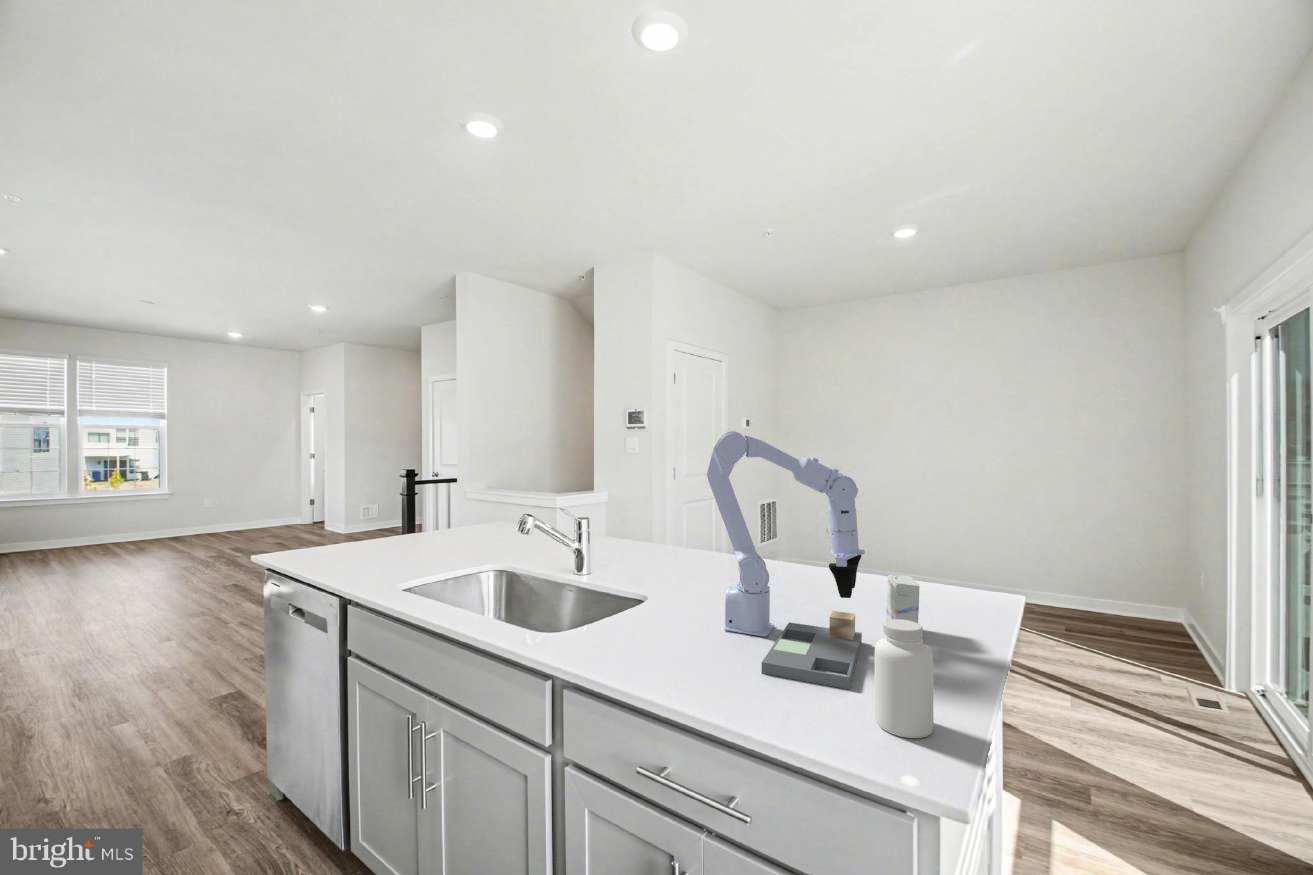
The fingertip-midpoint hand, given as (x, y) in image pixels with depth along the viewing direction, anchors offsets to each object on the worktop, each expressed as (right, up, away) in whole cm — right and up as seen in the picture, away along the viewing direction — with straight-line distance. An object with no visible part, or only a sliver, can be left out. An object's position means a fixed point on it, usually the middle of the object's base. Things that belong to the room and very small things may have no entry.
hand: (847, 592), depth 121 cm
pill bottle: (-5, -9, -39) cm, 40 cm away
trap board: (-11, -9, -13) cm, 19 cm away
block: (-3, -7, -6) cm, 10 cm away
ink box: (+12, -9, +1) cm, 15 cm away
